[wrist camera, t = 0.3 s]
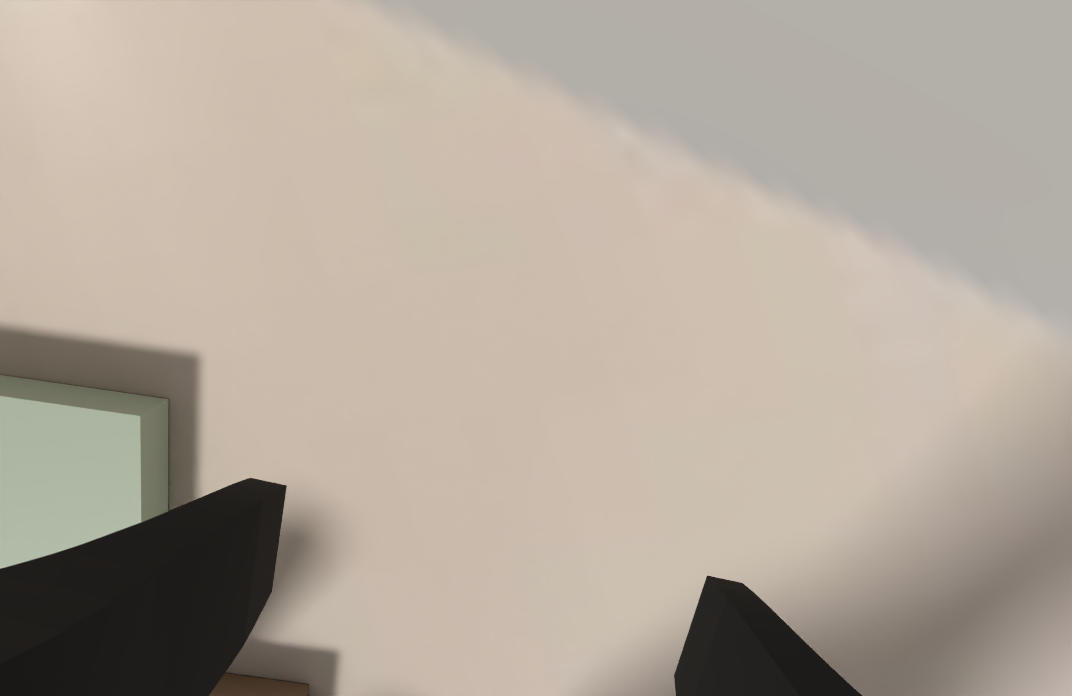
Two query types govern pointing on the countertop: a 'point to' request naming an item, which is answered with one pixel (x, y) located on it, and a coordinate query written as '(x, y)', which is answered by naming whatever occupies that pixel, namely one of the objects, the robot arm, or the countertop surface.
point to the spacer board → (257, 687)
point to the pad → (76, 465)
